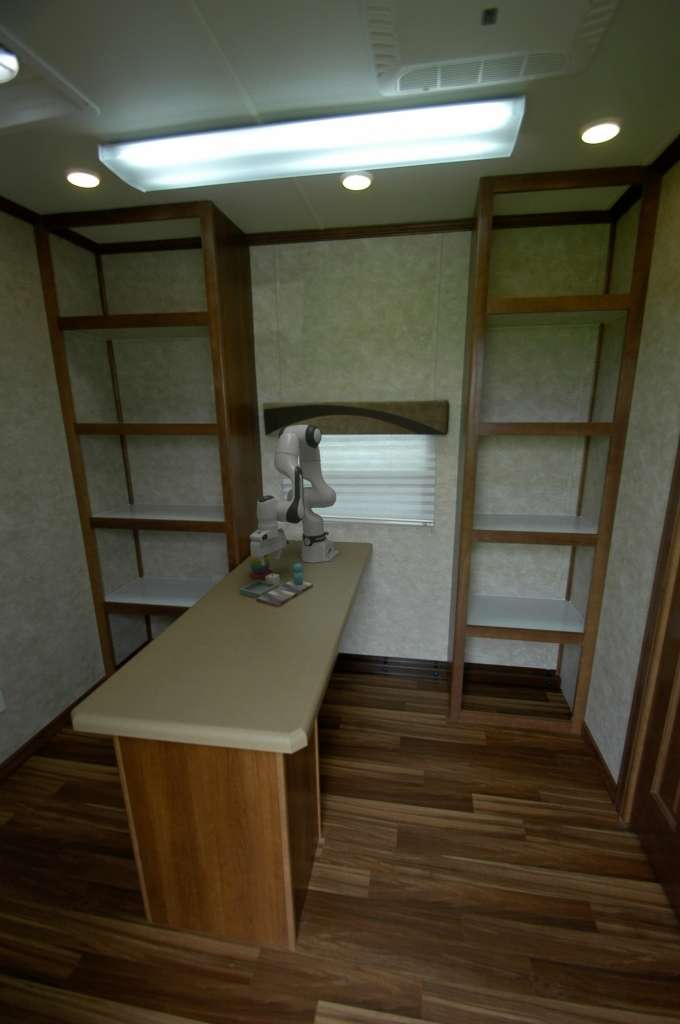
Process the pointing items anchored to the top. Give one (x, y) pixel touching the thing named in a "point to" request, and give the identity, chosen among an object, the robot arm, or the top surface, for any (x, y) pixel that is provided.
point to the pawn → (298, 574)
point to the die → (273, 578)
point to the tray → (257, 588)
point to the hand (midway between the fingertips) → (270, 561)
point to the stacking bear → (260, 568)
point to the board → (284, 593)
